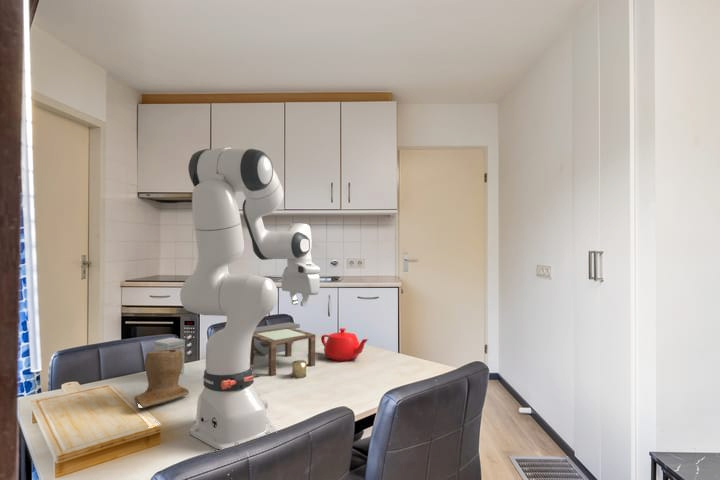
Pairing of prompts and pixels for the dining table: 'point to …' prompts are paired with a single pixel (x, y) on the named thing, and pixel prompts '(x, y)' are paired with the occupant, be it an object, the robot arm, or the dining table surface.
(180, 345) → the supplement box
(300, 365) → the cylinder
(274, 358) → the frame
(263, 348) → the grey anvil
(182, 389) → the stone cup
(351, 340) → the teapot
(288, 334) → the trapdoor
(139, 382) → the dining table surface
